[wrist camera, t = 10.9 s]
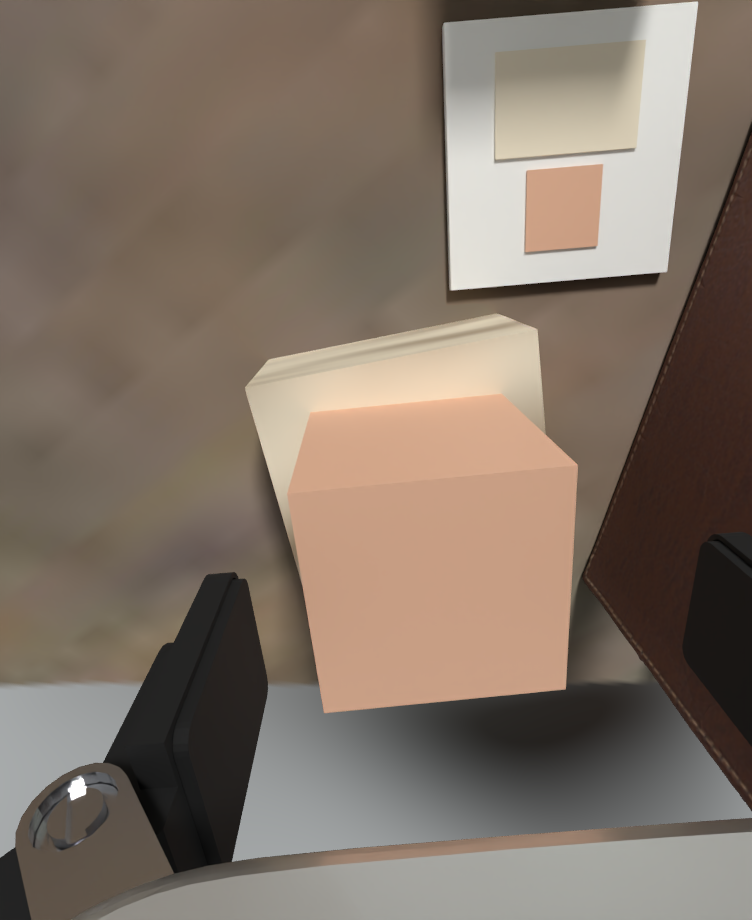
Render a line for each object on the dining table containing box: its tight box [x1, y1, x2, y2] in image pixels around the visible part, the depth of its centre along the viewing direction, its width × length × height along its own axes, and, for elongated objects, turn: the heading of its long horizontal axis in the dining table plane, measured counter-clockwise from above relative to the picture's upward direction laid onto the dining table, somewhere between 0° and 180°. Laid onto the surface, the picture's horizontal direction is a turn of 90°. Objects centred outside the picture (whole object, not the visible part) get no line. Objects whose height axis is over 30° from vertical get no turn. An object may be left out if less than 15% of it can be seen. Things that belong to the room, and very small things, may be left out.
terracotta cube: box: [287, 394, 578, 713], centre depth 15 cm, size 6×6×6 cm
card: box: [442, 2, 698, 290], centre depth 18 cm, size 8×8×1 cm
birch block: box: [245, 313, 546, 586], centre depth 20 cm, size 9×9×5 cm
